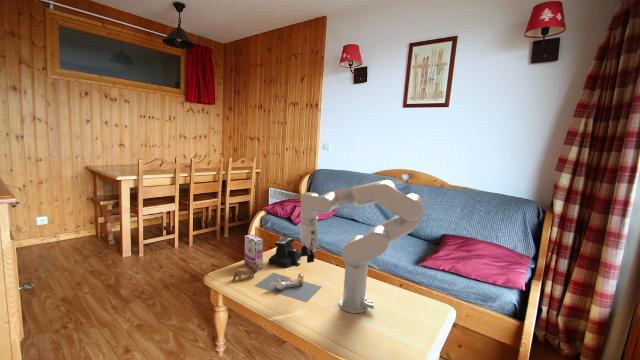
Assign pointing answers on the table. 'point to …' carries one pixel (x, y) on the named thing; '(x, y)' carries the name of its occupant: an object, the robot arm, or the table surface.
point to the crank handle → (282, 284)
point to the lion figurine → (247, 271)
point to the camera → (285, 253)
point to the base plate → (295, 292)
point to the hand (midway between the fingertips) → (307, 258)
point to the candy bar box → (253, 250)
